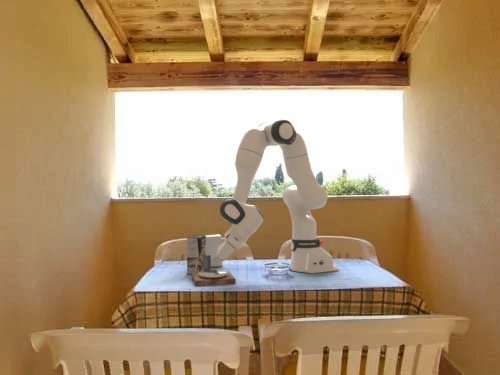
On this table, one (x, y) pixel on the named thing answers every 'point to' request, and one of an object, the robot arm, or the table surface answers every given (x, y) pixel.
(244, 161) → the robot arm
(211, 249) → the skincare box
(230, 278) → the dial board
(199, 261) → the coffee box
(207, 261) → the dial
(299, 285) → the table surface
